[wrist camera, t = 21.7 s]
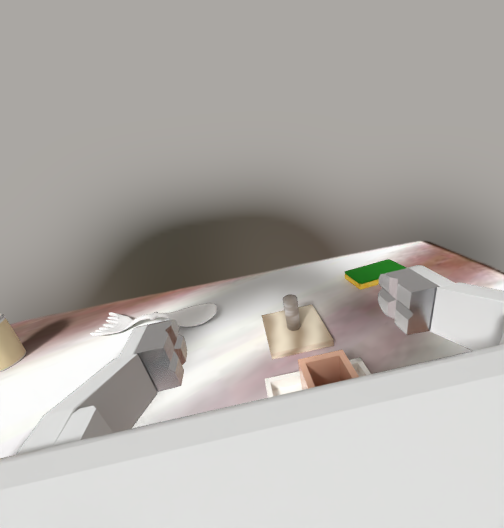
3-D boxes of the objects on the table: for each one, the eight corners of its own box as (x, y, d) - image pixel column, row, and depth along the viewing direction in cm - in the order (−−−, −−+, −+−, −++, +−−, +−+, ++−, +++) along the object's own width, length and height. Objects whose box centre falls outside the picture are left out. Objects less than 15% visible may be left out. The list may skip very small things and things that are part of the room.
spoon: (113, 320, 69) (108, 311, 68) (221, 306, 66) (218, 296, 64) (94, 343, 61) (87, 333, 60) (215, 328, 58) (212, 317, 56)
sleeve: (319, 454, 30) (313, 402, 26) (304, 409, 36) (297, 359, 31) (366, 443, 30) (367, 389, 26) (344, 399, 36) (342, 349, 32)
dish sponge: (408, 276, 62) (409, 268, 61) (360, 291, 61) (360, 282, 60) (388, 266, 69) (388, 258, 68) (344, 279, 67) (344, 271, 66)
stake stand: (272, 359, 46) (265, 324, 42) (262, 320, 57) (256, 289, 53) (333, 345, 46) (331, 309, 42) (312, 309, 57) (309, 278, 53)
